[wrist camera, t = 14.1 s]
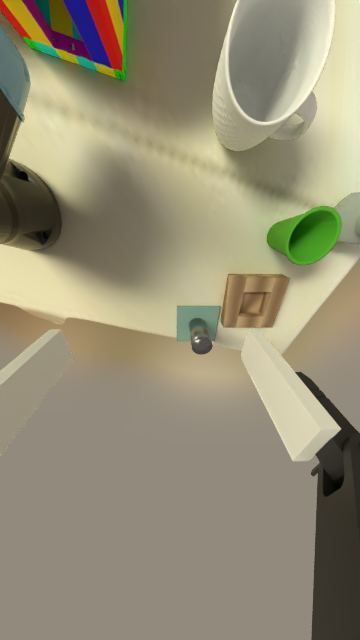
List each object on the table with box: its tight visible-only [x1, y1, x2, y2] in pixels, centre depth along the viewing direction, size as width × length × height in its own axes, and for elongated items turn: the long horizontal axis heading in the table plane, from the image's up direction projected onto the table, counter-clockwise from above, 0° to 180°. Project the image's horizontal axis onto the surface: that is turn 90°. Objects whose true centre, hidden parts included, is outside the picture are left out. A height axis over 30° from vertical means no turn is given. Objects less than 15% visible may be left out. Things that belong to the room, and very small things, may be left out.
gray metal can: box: [189, 318, 212, 354], centre depth 44 cm, size 5×5×10 cm
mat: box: [177, 306, 220, 341], centre depth 48 cm, size 12×12×1 cm
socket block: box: [221, 274, 290, 327], centre depth 43 cm, size 14×14×4 cm
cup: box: [267, 206, 342, 265], centre depth 32 cm, size 9×9×11 cm
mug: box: [212, 0, 335, 151], centre depth 23 cm, size 15×11×13 cm
